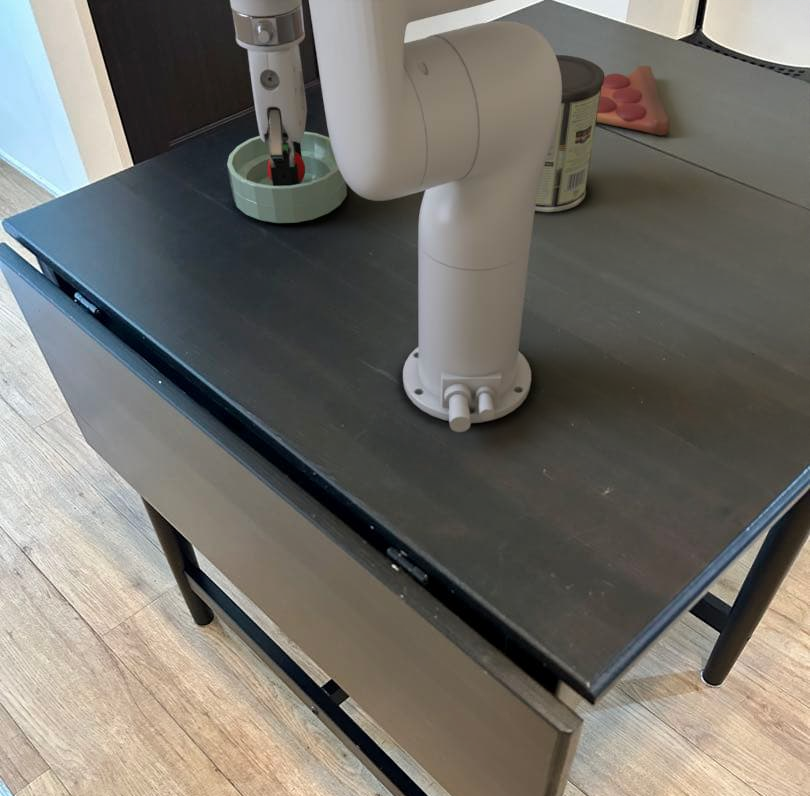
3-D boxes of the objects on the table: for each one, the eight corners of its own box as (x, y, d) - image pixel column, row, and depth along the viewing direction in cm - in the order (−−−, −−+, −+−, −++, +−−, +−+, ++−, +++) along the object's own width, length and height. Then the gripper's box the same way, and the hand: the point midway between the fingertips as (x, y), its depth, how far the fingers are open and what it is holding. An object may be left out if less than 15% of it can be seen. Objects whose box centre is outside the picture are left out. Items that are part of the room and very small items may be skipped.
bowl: (345, 226, 101) (342, 186, 97) (228, 228, 101) (220, 189, 97) (348, 167, 110) (346, 129, 106) (241, 170, 110) (234, 131, 106)
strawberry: (306, 196, 103) (301, 157, 99) (268, 197, 103) (262, 157, 99) (308, 177, 106) (304, 138, 102) (272, 178, 106) (266, 139, 102)
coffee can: (519, 164, 109) (530, 48, 98) (595, 180, 106) (615, 62, 95) (491, 202, 103) (499, 83, 92) (570, 220, 101) (589, 99, 90)
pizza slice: (672, 121, 111) (522, 121, 112) (668, 138, 113) (520, 138, 114) (651, 63, 123) (516, 64, 124) (648, 79, 125) (515, 80, 126)
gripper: (298, 55, 84) (315, 221, 99) (308, -7, 95) (322, 151, 109) (224, 56, 84) (252, 222, 99) (242, -6, 95) (265, 152, 109)
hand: (289, 183), depth 104 cm, fingers closed on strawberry, 4 cm apart
